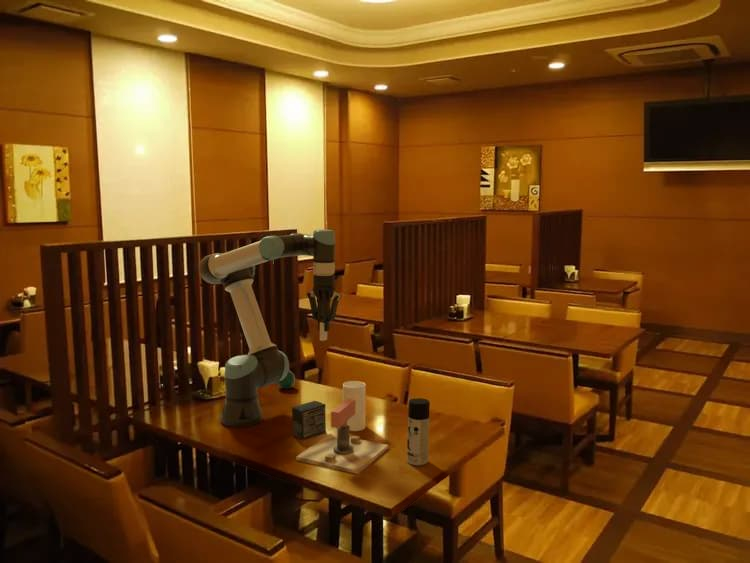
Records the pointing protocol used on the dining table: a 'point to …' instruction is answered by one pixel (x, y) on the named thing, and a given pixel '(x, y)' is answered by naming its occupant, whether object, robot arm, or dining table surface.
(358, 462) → the post board
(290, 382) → the sphere
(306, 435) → the small box
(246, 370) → the robot arm
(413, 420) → the spray can
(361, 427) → the cup
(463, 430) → the dining table surface
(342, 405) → the pink rectangular block
